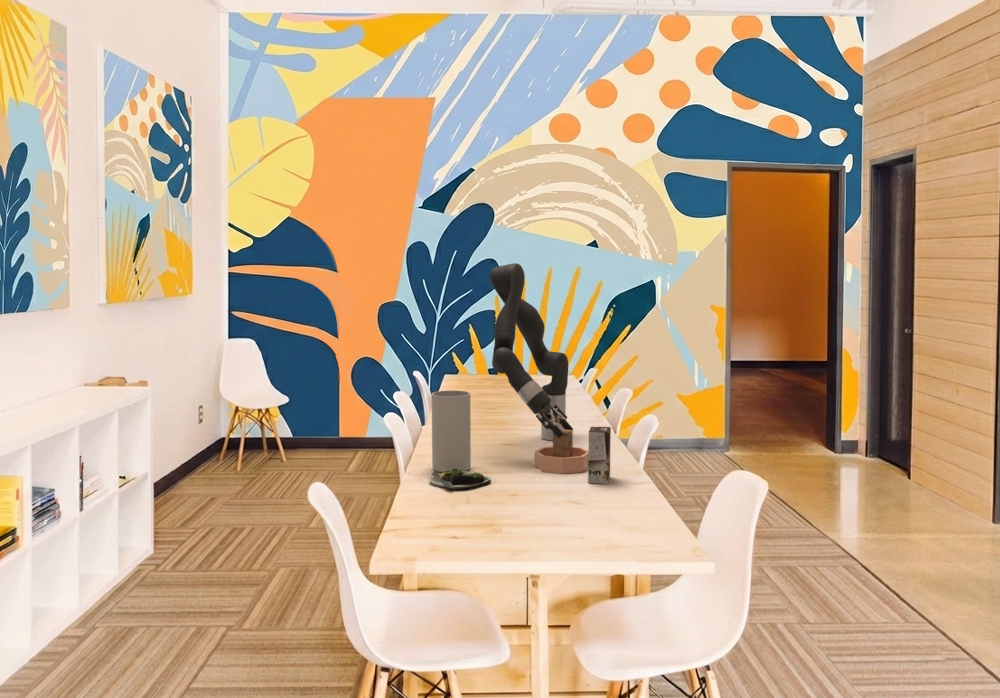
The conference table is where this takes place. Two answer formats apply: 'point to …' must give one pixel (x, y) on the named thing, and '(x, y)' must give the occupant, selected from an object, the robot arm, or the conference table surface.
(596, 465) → the coffee box
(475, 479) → the salad plate
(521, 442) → the conference table surface
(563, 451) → the walnut block
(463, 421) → the cylinder vase
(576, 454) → the bowl
